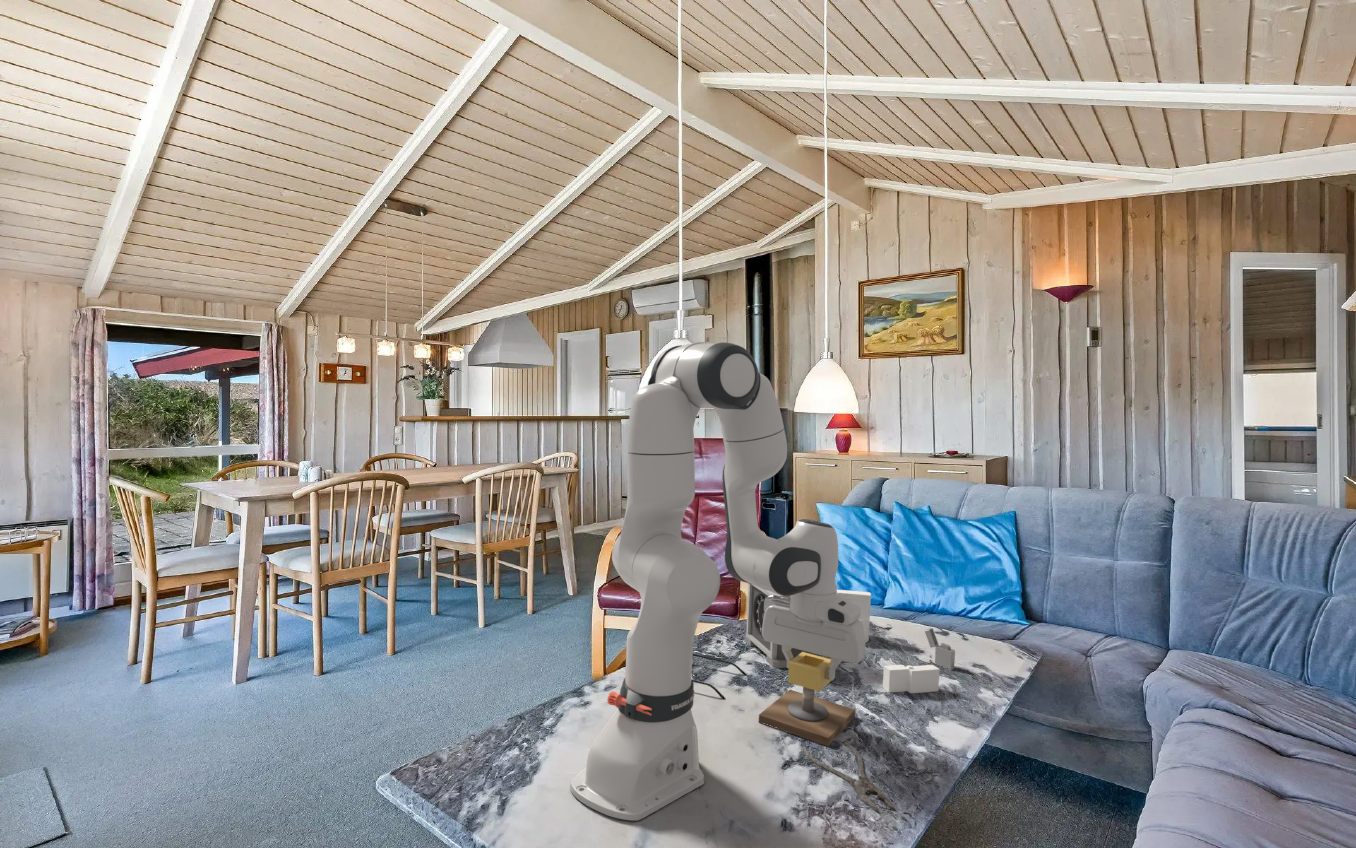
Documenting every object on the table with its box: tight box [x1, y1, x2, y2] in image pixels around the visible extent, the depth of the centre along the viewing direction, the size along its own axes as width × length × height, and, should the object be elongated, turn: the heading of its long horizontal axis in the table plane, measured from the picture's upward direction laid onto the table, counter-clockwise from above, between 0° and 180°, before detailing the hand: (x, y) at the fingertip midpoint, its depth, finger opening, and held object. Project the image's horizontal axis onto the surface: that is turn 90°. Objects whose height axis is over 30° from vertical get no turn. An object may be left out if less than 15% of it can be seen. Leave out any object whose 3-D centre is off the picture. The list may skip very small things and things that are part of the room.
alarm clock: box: [744, 583, 824, 669], centre depth 162 cm, size 18×13×18 cm
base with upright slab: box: [837, 589, 872, 643], centre depth 174 cm, size 9×9×12 cm
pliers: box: [802, 741, 894, 813], centre depth 110 cm, size 10×1×20 cm
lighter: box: [924, 627, 956, 670], centre depth 158 cm, size 7×2×8 cm, turn 42°
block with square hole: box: [787, 652, 833, 692], centre depth 128 cm, size 6×6×4 cm
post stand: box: [758, 687, 856, 747], centre depth 128 cm, size 14×14×9 cm
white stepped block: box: [882, 664, 940, 694], centre depth 144 cm, size 15×11×6 cm
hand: (810, 673), depth 128 cm, fingers closed on block with square hole, 6 cm apart
